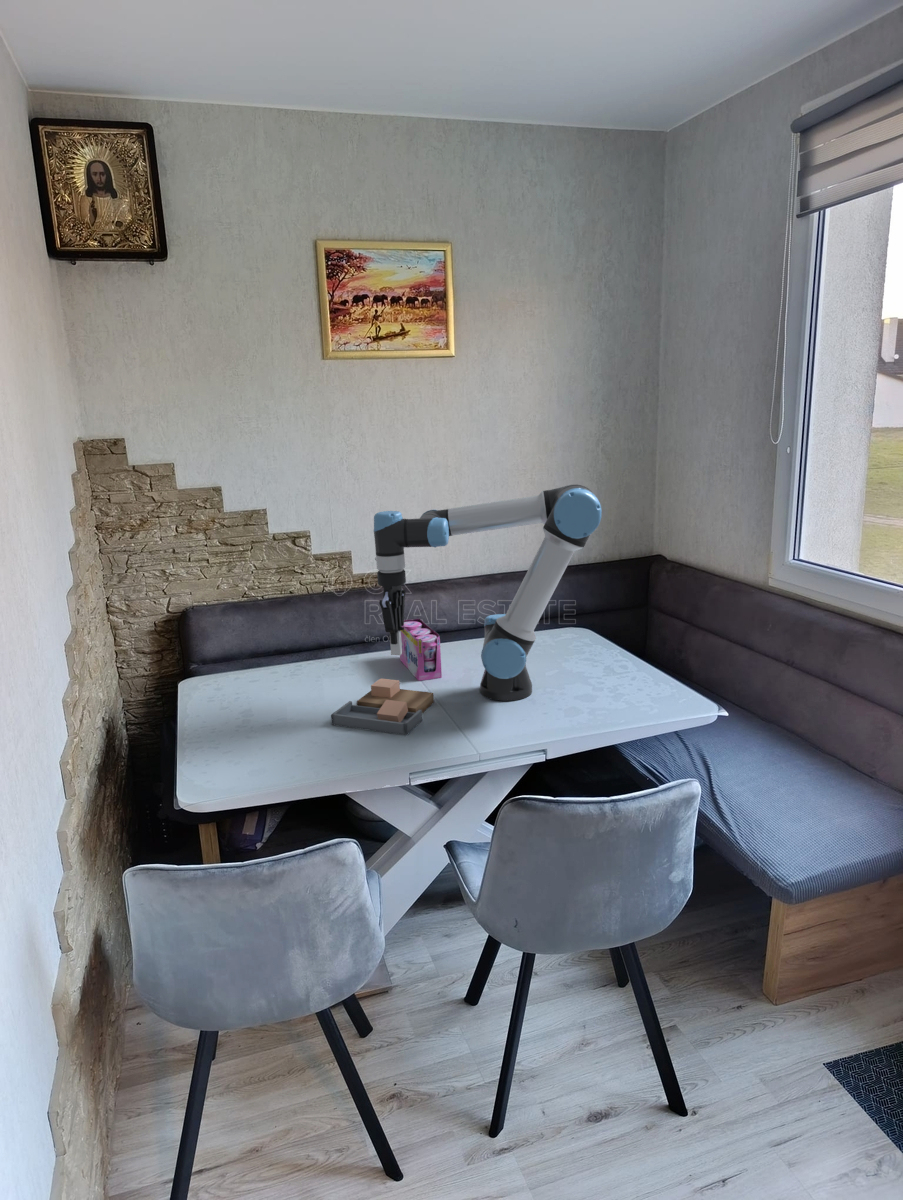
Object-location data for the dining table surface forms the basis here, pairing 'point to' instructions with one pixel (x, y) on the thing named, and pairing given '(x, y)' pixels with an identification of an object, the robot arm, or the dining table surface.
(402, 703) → the tile
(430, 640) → the gum box
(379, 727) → the tray
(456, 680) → the dining table surface
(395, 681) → the tile
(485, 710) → the dining table surface
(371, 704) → the brown wooden board
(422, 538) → the robot arm
